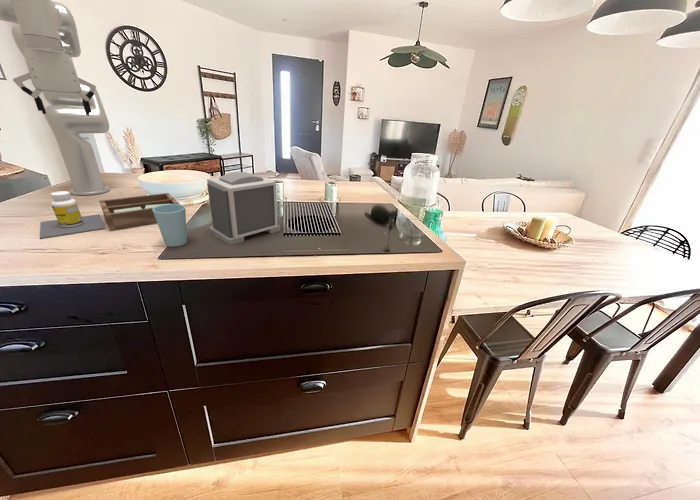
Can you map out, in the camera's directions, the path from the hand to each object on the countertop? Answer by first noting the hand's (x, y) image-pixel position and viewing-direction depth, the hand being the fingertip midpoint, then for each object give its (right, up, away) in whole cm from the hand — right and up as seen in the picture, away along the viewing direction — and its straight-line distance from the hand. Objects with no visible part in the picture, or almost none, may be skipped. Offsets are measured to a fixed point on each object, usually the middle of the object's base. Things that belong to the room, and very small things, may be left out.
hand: (67, 114), depth 87 cm
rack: (+15, -30, +11) cm, 35 cm away
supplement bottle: (0, -33, +1) cm, 33 cm away
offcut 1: (+15, -32, +6) cm, 36 cm away
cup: (+35, -39, -4) cm, 52 cm away
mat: (+1, -33, +1) cm, 33 cm away
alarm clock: (+51, -35, +8) cm, 62 cm away
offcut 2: (+21, -30, +12) cm, 38 cm away
